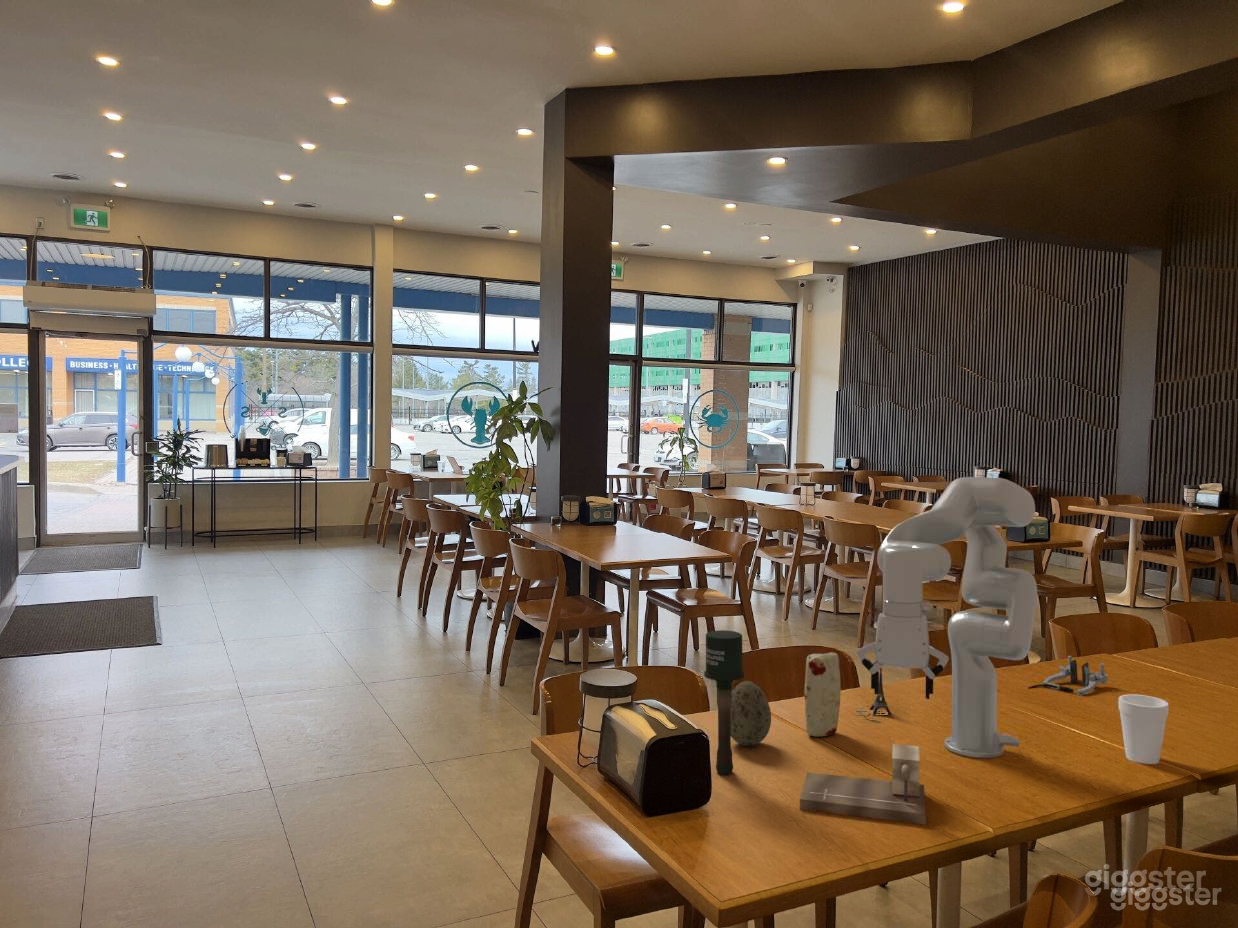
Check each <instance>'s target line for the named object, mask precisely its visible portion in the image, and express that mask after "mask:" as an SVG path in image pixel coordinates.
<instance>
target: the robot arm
mask: <svg viewBox="0 0 1238 928" xmlns="http://www.w3.org/2000/svg"><path fill="white" fill-rule="evenodd" d="M1035 513H1036V504H1035V500H1034V497H1033V496H1032V494H1031V492H1030V491H1028V489H1025V488H1024V487H1022V486H1020V485H1019V484H1017V483H1015V482H1013V481H1011V480H1009V479H1006V478H1002V477H984V476H983V477H982V476H981V477H977V476H963V477H958V478H956V479H954V480H953V481H952V482H950V483H949V484H948V485H947V487H946V488H945V490H944V491H943V493H942V494H941V495H940V497H938V499H937V500H936V501H935V503H934V505H933V506H932V508H930V510H927V511H924V512H921V513H919V514H917V515H915V516H912V517H910V518H908V519H906V520H904V521H902V522H900V523H898V524H897V525H896V526H894V527H893V528H892V529H891V530H890V531H889V533H888V534H887V535H886V536H885V538H884V539H883V541H882V542H881V544H880V546H879V548H878V551H877V556H876V560H877V566H878V568H879V570H880V571H881V572H882V612H880V613H879V614H878V617H877V624H876V630H875V631H876V632H875V633H876V634H875V641H874V642H871V643H869V644H867V645H864V646H861V647H860V648H858V649H857V650H856V655H857V656H858V658H859V659H860V662H861V664H862V665H863V666H864V668H865V669H866V670H867V671H868V672H869V673H870V689H871V690H874V691H873V692H874V695H877V694H878V692H879V677H880V670H879V669H880V668H882V667H883V666H884V667H891V668H892V667H894V668H904V669H905V668H907V669H917V670H918V669H921V670H922V671H923V672H924V674H925V699H927V700H930V695H934V679H935V677H937V676H938V675H940V673H941V672H943V671H944V668H945V667H946V665H947V664H948V662H949V661H950V659H949V655H948V654H946V653H944V652H942V651H940V650H939V649H937V648H934V647H933V646H931V645H930V637H929V626H928V625H929V624H928V618H927V616H926V615H923V614H925V613H927V612H928V613H929V612H931V604H927V603H924V602H923V592H924V588H923V584H924V583H923V581H925V582H926V581H927V582H929V581H931V582H935V581H940V580H942V579H943V578H944V577H946V576H947V574H948V573H949V571H950V570H951V565H952V558H951V555H950V552H949V551H948V550H947V549H946V547H944V546H942V544H946V543H951V542H955V541H957V540H959V539H961V538H963V536H965V538H966V543H967V546H966V547H967V548H966V556H965V562H964V569H963V576H962V582H961V596H962V598H963V600H964V601H965V602H966V603H967V604H970V605H972V606H976V607H981V608H987V609H995V610H1005V611H1008V615H1005V614H996V613H991V612H986V611H985V612H983V611H976V610H961V611H957V612H955V613H954V614H952V615H951V616H950V618H949V620H948V623H947V635H948V636H947V637H948V643H949V647H950V654H951V673H952V674H951V735H950V736H948V737H946V738H945V739H944V747H945V748H946V749H947V750H948V751H951V752H952V753H954V754H957V755H959V756H965V757H969V758H975V759H976V758H977V759H990V758H991V759H992V758H997V757H1000V756H1001V755H1003V754H1004V753H1005V751H1004V750H1005V746H1010V747H1020V738H1019V737H1013V736H1012V734H1004V733H1003V734H1002V733H1001V732H999V731H998V727H997V712H998V711H997V709H998V708H997V707H998V704H997V697H998V695H997V693H998V692H997V691H998V689H997V688H998V687H997V685H998V675H997V672H996V668H995V666H994V664H993V662H992V661H991V660H990V658H989V657H992V658H998V659H1004V660H1008V661H1009V660H1011V661H1012V660H1013V661H1021V660H1024V659H1025V658H1026V657H1027V656H1028V654H1029V652H1030V649H1031V645H1032V644H1031V643H1032V639H1033V632H1034V625H1035V624H1034V623H1035V617H1036V609H1037V601H1038V587H1037V585H1038V584H1037V581H1036V579H1035V577H1034V574H1032V573H1031V572H1030V571H1028V570H1025V569H1021V568H1015V567H1014V568H1013V567H1006V559H1007V554H1008V553H1007V552H1008V551H1007V550H1008V548H1007V547H1008V546H1007V544H1006V542H1005V540H1004V538H1003V537H1002V535H1001V533H999V531H998V530H997V529H996V528H995V526H996V527H997V526H998V527H999V526H1000V527H1012V528H1013V527H1015V528H1023V527H1026V526H1028V525H1029V524H1030V523H1031V522H1032V521H1033V519H1034V517H1035ZM873 651H874V652H875V653H874V654H875V655H874V656H875V660H874V662H873V663H872V662H871V661H870V659H868V657H867V655H866V654H869V653H871V652H873ZM930 655H931V656H933V657H935V658H936V659H938V660H939V661H938V663H937V664H935V666H934V667H932V666H930V664H929V662H930Z"/></svg>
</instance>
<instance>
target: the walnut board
mask: <svg viewBox="0 0 1238 928" xmlns="http://www.w3.org/2000/svg"><path fill="white" fill-rule="evenodd" d="M925 797H926V795H925V784H921V783H919V797H918V796H909V795H908V797H907V802H906V801H904V795H900V794H892V780H884V779H874V778H863V777H855V776H846V775H845V776H844V775H836V774H825V773H818V772H808V771H807V772H806V775H805V779H804V782H803V786H802V790H801V794H800V797H799V810H803V811H812V812H820V813H828V814H836V815H843V816H844V815H845V816H853V817H860V818H868V817H869V818H870V819H876V820H886V821H894V822H901V821H903V822H902V823H910V824H916V825H918V824H919V825H926V824H927V821H926V819H927V816H926V815H927V814H926V798H925ZM869 818H868V819H869Z"/></svg>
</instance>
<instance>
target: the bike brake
mask: <svg viewBox="0 0 1238 928" xmlns="http://www.w3.org/2000/svg"><path fill="white" fill-rule="evenodd" d="M1099 667H1100V671H1096V672H1091V671H1090V663H1089V662H1088V661H1087V662H1085V663H1083V664H1082V665H1081V680H1082V686H1083V688H1081V689H1080V688H1079V689H1077V690H1074V688H1071V687H1068V686H1061V685H1059V684H1057V683H1054V681H1057V680H1058V681H1059V680H1062V679H1066V678H1067V677H1069V678H1070V684H1071V685H1073V684H1076V683H1077V682H1078V680H1079V679H1078V678H1079V677H1078V663H1077V660H1076V659H1072V655H1068V656H1067V666H1065V665H1063V666H1062V665H1059V666H1058V670H1060V672H1058V673H1056V674H1053V675H1050V676H1048V677H1046V678H1045V679H1043V681H1042V684H1035V685H1031V686H1028V687H1027V689H1029V690H1030V689H1033V688H1039V687H1045V688H1048V689H1053V690H1057V691H1058V690H1060V691H1062V692H1063V691H1064V692H1067V693H1074V692H1075V693H1077V694H1076V695H1079V696H1084V695H1088V693H1090V692H1092V691H1093V690H1094V689H1095V687H1097V685H1099V684H1100V683H1101V685H1105V684H1106V683H1107V681H1109V675H1108V674H1107V673H1106V672H1105V671H1106V670H1105V663H1102V662H1100V664H1099Z"/></svg>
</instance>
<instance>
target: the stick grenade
mask: <svg viewBox="0 0 1238 928" xmlns="http://www.w3.org/2000/svg"><path fill="white" fill-rule="evenodd" d="M703 674H704V676H703V677H705V678H706V679H709V680H712V681H715V683H716V686H715V687H716V705H717V728H718V729H717V745H718V746H717V750H716V762H715V763H716V765H715V769H716V772H717V773H718V774H719V775H723V776H724V775H725V776H726V775H731V774H732V773H733V770H734V763H733V751H732V747H731V746H732V745H731V743H732V742H731V739H732V737H731V704H732V691H733V689H732V688H733V682H735V681H739V680H743V678H745V671H744V670H743V635H742V633H740V632H738V631H734V630H724V629H723V630H712V631H708V632H707V633H706V634H705V671H704V672H703Z"/></svg>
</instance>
